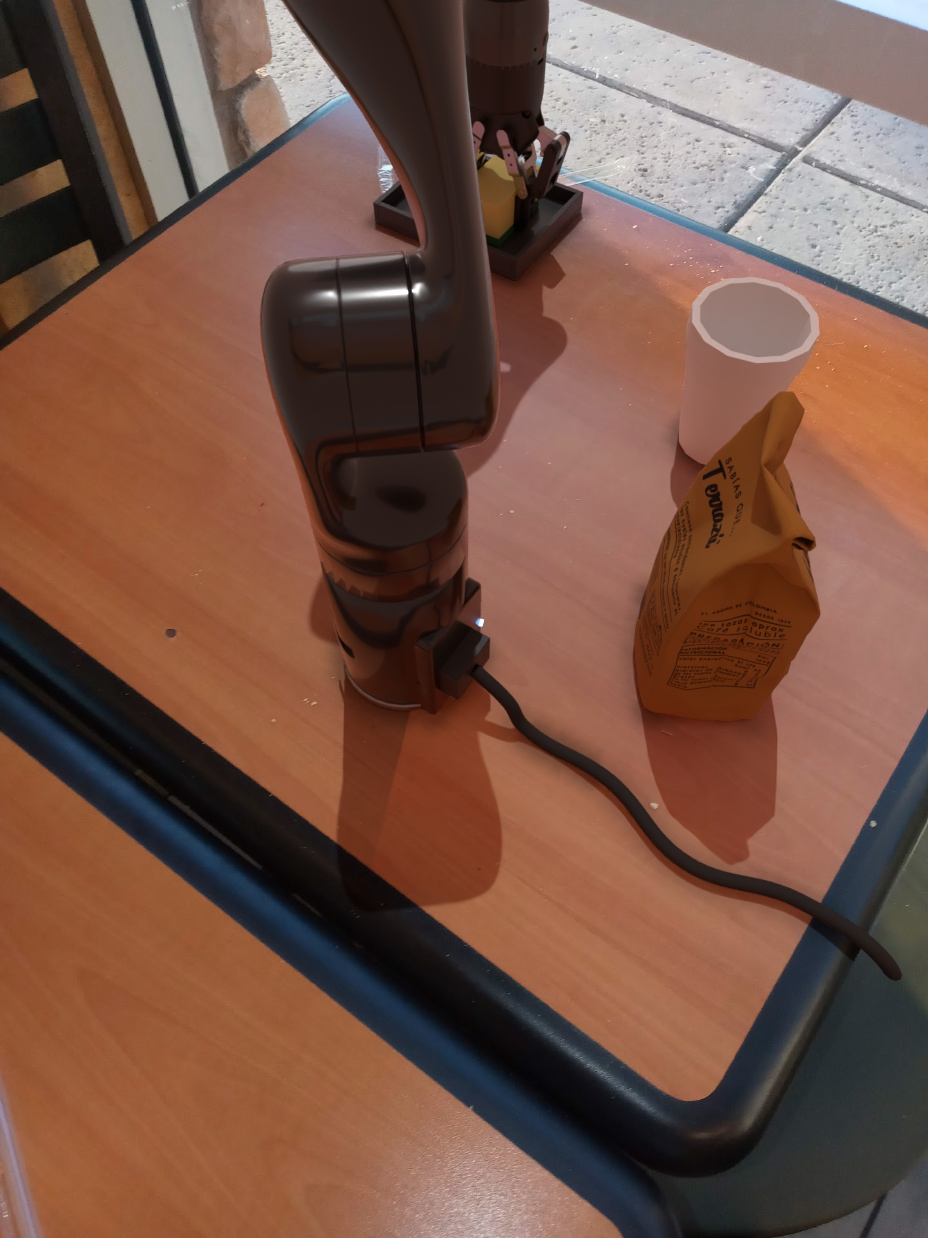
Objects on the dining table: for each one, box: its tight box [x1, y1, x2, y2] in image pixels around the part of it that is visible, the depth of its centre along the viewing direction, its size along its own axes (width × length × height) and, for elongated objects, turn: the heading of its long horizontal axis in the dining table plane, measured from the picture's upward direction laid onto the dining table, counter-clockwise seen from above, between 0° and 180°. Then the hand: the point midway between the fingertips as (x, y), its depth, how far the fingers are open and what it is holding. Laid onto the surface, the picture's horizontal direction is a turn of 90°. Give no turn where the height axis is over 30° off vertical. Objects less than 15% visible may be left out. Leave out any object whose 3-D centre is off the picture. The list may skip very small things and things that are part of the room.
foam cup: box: [678, 276, 821, 466], centre depth 73 cm, size 10×9×13 cm
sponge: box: [477, 155, 541, 248], centre depth 92 cm, size 8×5×4 cm, turn 147°
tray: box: [372, 155, 585, 282], centre depth 94 cm, size 17×13×2 cm
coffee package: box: [633, 390, 821, 722], centre depth 58 cm, size 10×12×22 cm
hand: (498, 215), depth 93 cm, fingers closed on sponge, 5 cm apart
